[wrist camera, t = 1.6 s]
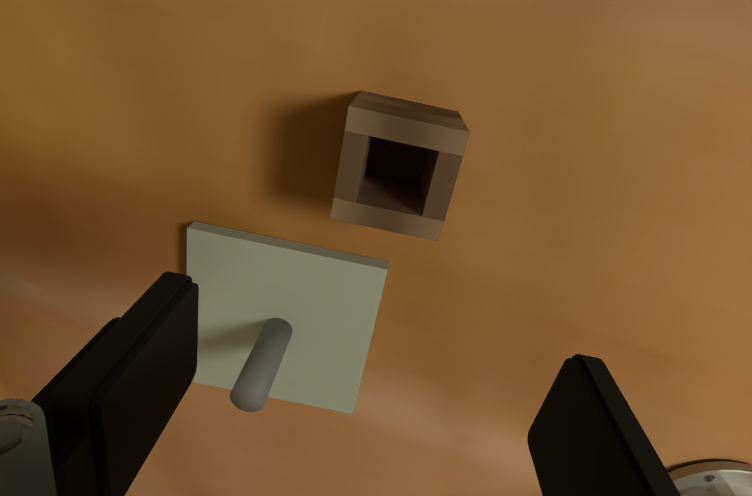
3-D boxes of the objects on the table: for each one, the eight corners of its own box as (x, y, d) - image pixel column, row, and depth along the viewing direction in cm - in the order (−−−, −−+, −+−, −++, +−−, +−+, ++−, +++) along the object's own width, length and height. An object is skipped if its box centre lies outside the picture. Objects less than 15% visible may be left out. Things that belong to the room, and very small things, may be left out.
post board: (388, 261, 32) (381, 331, 25) (354, 403, 38) (341, 492, 31) (194, 221, 32) (128, 279, 24) (192, 370, 38) (139, 452, 30)
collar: (458, 111, 27) (469, 132, 22) (433, 202, 30) (438, 241, 24) (361, 90, 27) (348, 106, 22) (345, 184, 30) (330, 218, 24)
